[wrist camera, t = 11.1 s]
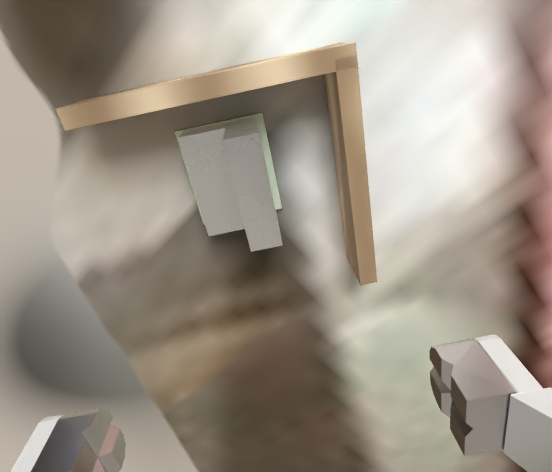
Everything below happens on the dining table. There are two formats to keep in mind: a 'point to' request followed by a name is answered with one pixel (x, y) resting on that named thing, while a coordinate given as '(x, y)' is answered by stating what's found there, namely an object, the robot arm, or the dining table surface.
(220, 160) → the bracket
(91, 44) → the dining table surface
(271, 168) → the pad
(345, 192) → the corner walls
